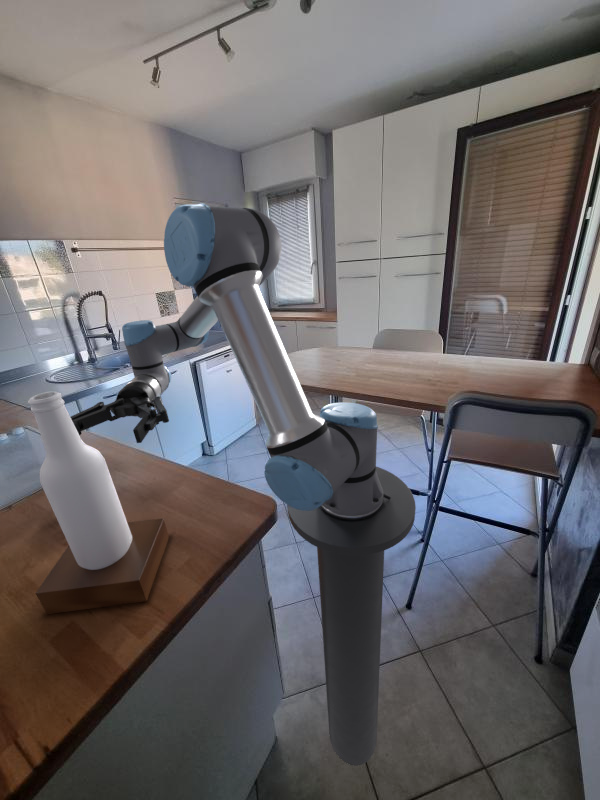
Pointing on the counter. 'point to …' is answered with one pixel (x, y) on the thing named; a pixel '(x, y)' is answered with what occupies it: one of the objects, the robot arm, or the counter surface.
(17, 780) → the counter surface
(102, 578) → the stand
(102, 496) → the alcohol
